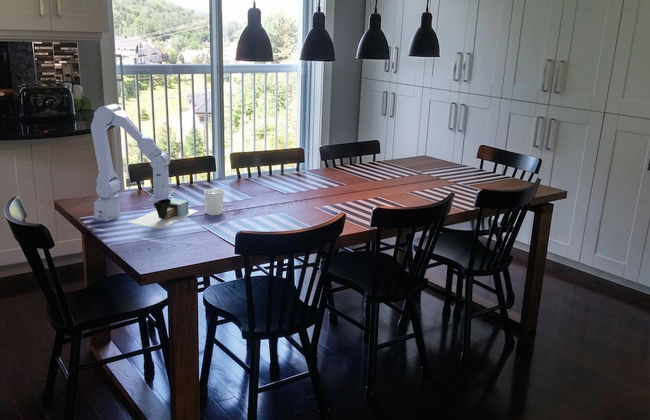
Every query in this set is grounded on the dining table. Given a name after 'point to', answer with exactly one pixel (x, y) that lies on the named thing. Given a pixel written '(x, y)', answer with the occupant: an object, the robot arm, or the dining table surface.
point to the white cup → (213, 201)
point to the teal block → (180, 206)
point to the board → (158, 219)
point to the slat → (171, 212)
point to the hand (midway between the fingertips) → (162, 218)
